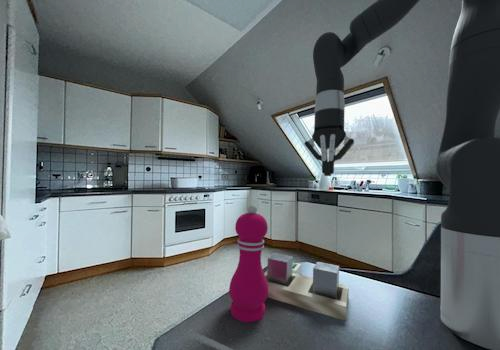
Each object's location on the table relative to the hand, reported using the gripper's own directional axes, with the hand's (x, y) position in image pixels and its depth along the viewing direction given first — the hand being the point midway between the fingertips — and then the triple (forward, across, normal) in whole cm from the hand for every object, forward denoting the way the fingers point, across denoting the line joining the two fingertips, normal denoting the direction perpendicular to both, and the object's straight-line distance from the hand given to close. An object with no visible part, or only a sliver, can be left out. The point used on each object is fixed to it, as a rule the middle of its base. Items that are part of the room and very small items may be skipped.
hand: (327, 175), depth 57 cm
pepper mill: (+27, +10, +24) cm, 38 cm away
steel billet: (+26, +8, +13) cm, 30 cm away
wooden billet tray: (+27, +3, +13) cm, 30 cm away
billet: (+26, -2, +13) cm, 29 cm away
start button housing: (+27, +9, +4) cm, 29 cm away
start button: (+26, +8, +4) cm, 28 cm away
